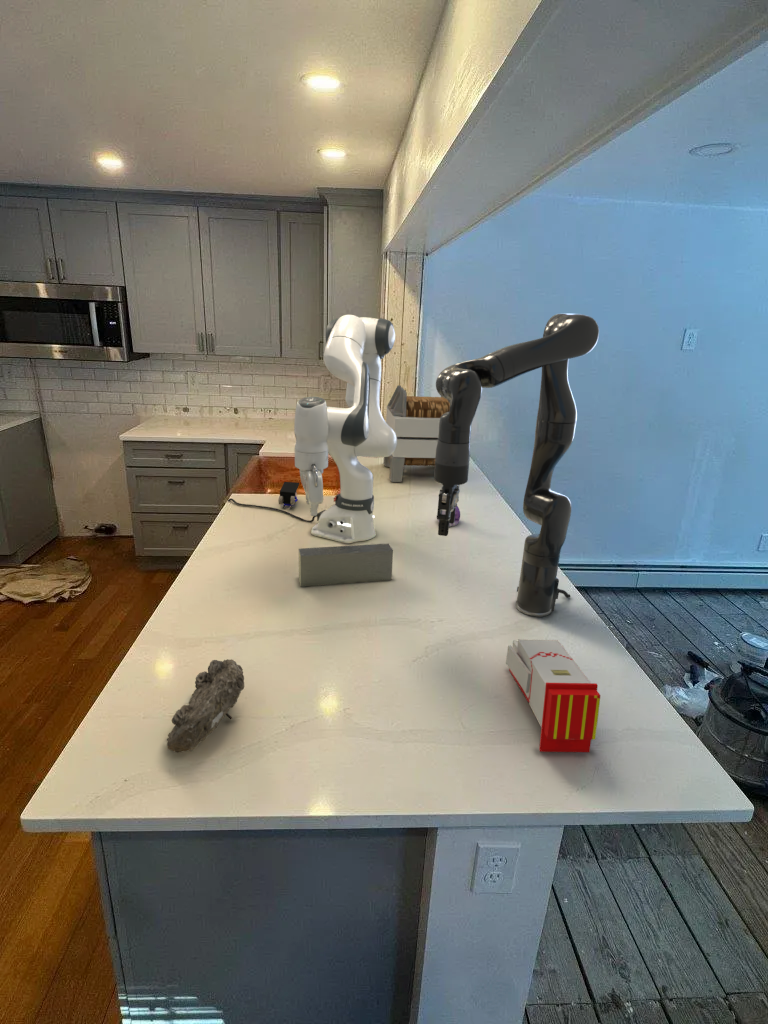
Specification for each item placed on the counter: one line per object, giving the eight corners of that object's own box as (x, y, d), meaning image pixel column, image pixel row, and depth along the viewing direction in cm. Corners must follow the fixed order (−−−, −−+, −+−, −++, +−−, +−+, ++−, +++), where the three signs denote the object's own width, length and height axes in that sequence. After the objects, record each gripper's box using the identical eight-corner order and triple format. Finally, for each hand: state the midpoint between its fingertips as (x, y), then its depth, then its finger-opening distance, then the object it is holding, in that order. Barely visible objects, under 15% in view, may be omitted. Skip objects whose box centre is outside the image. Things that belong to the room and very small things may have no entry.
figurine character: (295, 514, 218) (300, 497, 231) (295, 496, 214) (299, 480, 228) (278, 513, 217) (283, 497, 231) (277, 495, 214) (283, 480, 227)
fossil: (192, 660, 117) (244, 628, 112) (224, 691, 120) (276, 661, 115) (142, 746, 98) (202, 712, 93) (182, 779, 101) (242, 748, 96)
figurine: (445, 529, 206) (449, 489, 200) (430, 519, 214) (433, 481, 209) (467, 525, 210) (470, 487, 205) (451, 516, 218) (454, 479, 213)
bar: (300, 586, 159) (300, 555, 156) (298, 578, 164) (298, 548, 161) (391, 580, 166) (393, 550, 163) (387, 572, 170) (388, 543, 167)
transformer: (382, 463, 289) (386, 382, 275) (445, 464, 293) (451, 384, 279) (390, 482, 257) (394, 392, 243) (460, 483, 261) (468, 394, 247)
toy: (554, 622, 128) (610, 691, 98) (548, 677, 130) (601, 759, 101) (501, 621, 127) (541, 690, 98) (496, 676, 130) (534, 758, 101)
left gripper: (329, 470, 142) (328, 522, 146) (318, 450, 160) (318, 497, 165) (303, 470, 140) (304, 523, 145) (295, 451, 159) (296, 497, 163)
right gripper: (464, 470, 118) (457, 542, 123) (473, 455, 131) (466, 520, 136) (429, 466, 120) (423, 537, 125) (441, 451, 133) (436, 516, 138)
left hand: (311, 509), depth 155 cm, fingers open, 8 cm apart
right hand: (446, 528), depth 131 cm, fingers open, 8 cm apart
